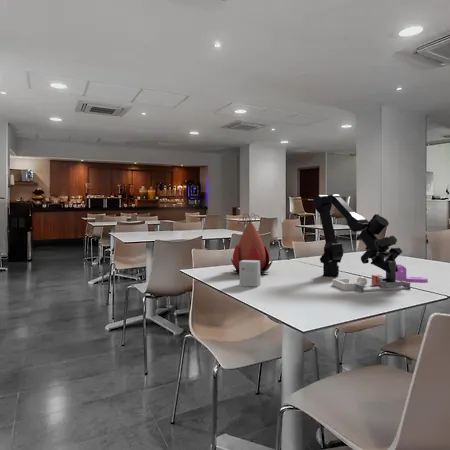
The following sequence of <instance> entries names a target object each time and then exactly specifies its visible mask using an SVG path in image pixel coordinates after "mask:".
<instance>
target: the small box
mask: <svg viewBox="0 0 450 450" xmlns="http://www.w3.org/2000/svg"><path fill="white" fill-rule="evenodd" d="M238 273H239V274H238V275H239V286H240V285H241V286H240V287H247V286H254V287H253V288H258V287H260V286H261V284H262V283H261V282H262V281H261V280H262V279H261V273H260V260H242V261H240V262H239V272H238Z"/></svg>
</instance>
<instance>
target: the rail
mask: <svg viewBox="0 0 450 450" xmlns="http://www.w3.org/2000/svg"><path fill="white" fill-rule="evenodd" d="M410 289H411V282H405V281H401V287H388V288H385V287H382V286H380V285H379V286H367V287H365V286H363V285H360V284H356V290H355V291H358V292H359V293H365V292H369V293H370V292H382V291H398V290H410Z"/></svg>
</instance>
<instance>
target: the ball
mask: <svg viewBox="0 0 450 450" xmlns="http://www.w3.org/2000/svg"><path fill="white" fill-rule="evenodd" d="M356 283H361V285H363V286H364V287H365V286H367V283H368V280H367V278H366V277H364V276H359V277H357V279H356Z"/></svg>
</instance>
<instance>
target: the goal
mask: <svg viewBox="0 0 450 450" xmlns="http://www.w3.org/2000/svg"><path fill="white" fill-rule="evenodd" d="M356 284H360V285H361V283H357V282H350V278H348V277H347V278H345V277H344V278H332V286H334V287H336V288H338V289H341V290H343V291H354V290H355V291H357V290H356Z"/></svg>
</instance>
